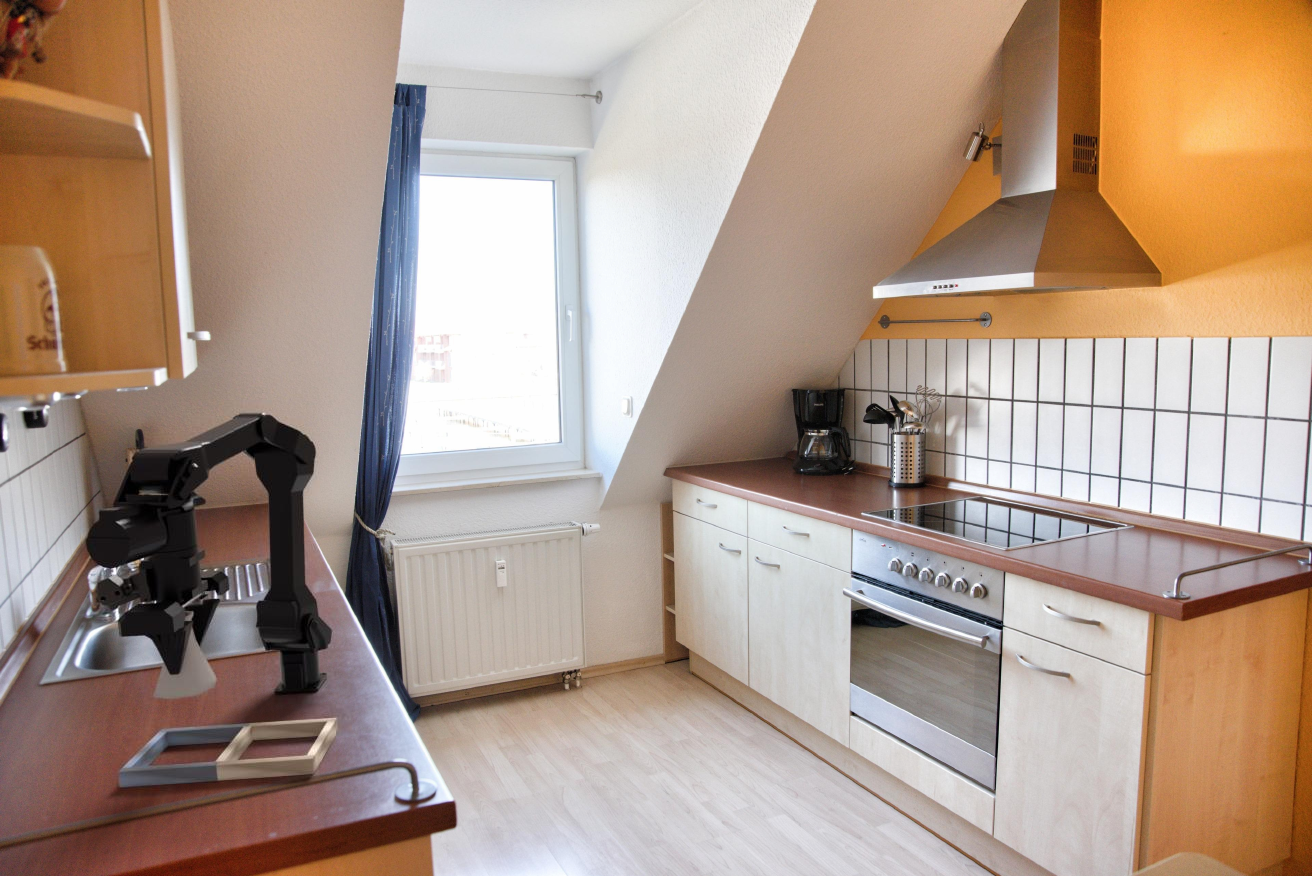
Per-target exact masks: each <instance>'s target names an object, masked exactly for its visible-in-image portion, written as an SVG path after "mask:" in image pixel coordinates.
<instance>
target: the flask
mask: <svg viewBox="0 0 1312 876" xmlns="http://www.w3.org/2000/svg"><path fill="white" fill-rule="evenodd" d="M192 616H193V611H185V621H191V619H192ZM217 680H218V678H217V677H216V674H215V672H214V670H213V668H212V667H211V665H210V664H209V662H208V660H207V658H206V657H205V654H204V653H203V650H202V649H200V647H199V645H198V643H197V641H196V638H195V635H194V632H193V628H192V629H191V633H190V636H189V641H188V645H187V649H186V653H185V657H184V661H183V664H182V668H181V671H180V673H179V674H177V675H170V674H169V672H168V670H167V668H166V666H165V664H164V662H163V661H162V665H161V669H160V674H159V676H158V679H157V683H156V687H155V689H154V693H153V698H157V699H164V700H165V699H166V700H176V699H184V698H190V697H197V696H199V695H202V694H203V693H205V692H207V691H209V690H212V689H213V688H214V687H216V684H217Z"/></svg>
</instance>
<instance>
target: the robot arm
mask: <svg viewBox="0 0 1312 876" xmlns="http://www.w3.org/2000/svg"><path fill="white" fill-rule="evenodd" d="M242 452H243V453H244V454H245V455H246V456H247V457H249V458H250V459H251V460H252V461H254V467H255V475H256V477H257V479H259V481H260V483H261V485H262V486H263V488H264V489H265V491H266V492H267V499H268V501H267V503H268V506H267V507H268V537H269V539H268V540H269V541H268V542H269V575H270V576H269V577H270V578H269V579H270V586H269V589H268V591H267V593H266V595H265V596H264V597H263V599H262V600H261V599H260V600H259V599H258V601H257V602H256V606H255V610H256V616H257V617H256V624H255V627H256V628H257V630H258V635H259V637H260V639H261V641H262V642H261V643H262V644H263V646H264V647H263V648H264V650H265V651H266V652H267V651H268V652H270V651H274V652H275V651H276V652H278V657H279V658H278V659H279V670H280V682H279V683H277V685H276V687H275V688H274V689H273V693H274V694H288V693H289V694H290V693H293V694H294V693H306V692H308V693H309V692H316V691H319V689H320V687H321V686H322V684H323V683H324V681H325V680H326V678H327V677H328V673H327V672H321V670H320V669H321V668H320V667H321V665H320V655H319V654H320V653H319V652H320V651H322V650H326V649H328V648H329V645H330V644H331V641H332V634H333V629H332V628H331V627H330V626H329V625H328V624H327V623H326V621H324V620H323V619H322V618H321V617H320V616H319V609H318V602H317V598H315V596H314V594H313V593H312V592H311V590H310V589H309V587H308V585H307V584H306V559H305V557H306V555H305V554H306V551H305V517H304V516H305V515H304V514H305V513H304V508H305V507H304V490H305V489H306V487H307V485H308V483H309V482H310V480H311V479H312V477H313V475H314V473H315V460H316V456H317V449H316V445H315V443H314V442H313V441H312V440H311V439H310V438H309V436H307V434H304V433H303V432H302V431H300V430H298V429H297V428H294V427H292V426H289V425H288V424H285V423H283V422H281V421H279V420H277V419H276V418H275V417H274V416H273V415H271V414H268V413H266V412H241V413H239V414H236V415H235V416H233V417H232V419H230V420H228V421H226V422H224V423H221V424H219V425H217V426H215V427H213V428H211V429H209V430H207V431H204V432H202V433H200V434H198V435H196V436H194V437H192V438H190V439H187V440H185V441H181V442H176V443H168V444H160V445H156V446H150V447H146V448H141V449H138V451H136V452H135V453H134V454H133V455H132V456H131V462H130V464H129V466H128V468H127V471H126V473H125V475H124V477H123V480H122V482H121V485H120V486H119V489H118V491H117V494H116V496H115V499H114V501H113V504H112V506H113V507H111V508H109V507H106V508H103V509H102V508H101V509H100V510H99V511H98V517H99V520H98V521H97V522H95V523H94V524H92V526H91V527H90V529H89V530H88V534H87V538H86V539H85V547H86V550H87V553H88V555H89V556H90V558H91V560H92V561H94V562H95V564H96V565H99V566H100V567H102V568H105V569H117V568H119V567H122V566H125V565H128V564H131V563H134V562H137V561H139V560H141V561H140V562H139V563H138V570H135V571H133V572H131V573H130V572H129V573H128V574H124V575H123V576H120V577H119V576H118V575H116V574H113V575H111V576H108V577H106V578H103V579H101V580H99V581H97V582H96V590H95V593H96V598H95V602H97V604H101V606H104V607H106V608H107V609H108V612H113V611H115V610H117V609H118V608H119V607H120V606H123V605H125V604H128V603H130V602H133V601H136V600H137V599H139V602H140V603H138V604H136V605H134V606H133V607H131V608H130V609H128V610H127V611H125V612H124V613H123V614H122V615H121V616H120V617H119V618H118V620H117V628H118V636H119V637H121V638H125V637H141V636H142V637H143V636H144V637H147V638H148V639H150V640H151V642H152V643H153V644H154V646H155V647H156V650H157V651H158V654H159V656H160V658H161V661H162V663H163V662H164V664H165V666H166V668H167V670H168V672H169V674H170V675H177V674H179V673H180V671H181V668H182V664H183V661H184V657H185V653H186V649H187V645H188V641H189V636H190V633H191V629H192V628H193V632H194V635H195V638H196V641H197V643H198V645H199V647H200V649H201V648H202V645H203V643H204V641H205V637H206V635H207V632H208V629H209V628H210V625H211V623H212V620H213V617H214V615H215V613H216V610H217V608H218V605H219V604H220V603H221V598H210V595H209V594H207V593H206V592H213V591H214V592H215V594H216V595H217V596H223V595H224V594H226V593H227V592H228V591H230V582H229V581H230V580H229V576H228V575H227V574H225V573H224V571H222V570H205V571H201V561H202V560H203V559H204V558H206V552H205V551H206V549H205V548H203V549H199V541H198V530H197V529H198V528H197V518H196V508H197V507H201V506H204V505H205V504H206V503H207V502H206V499H205V498H204V497H203V496H201V495H200V494H198V493H196V492H195V491H196V490H197V489H198V488H199V487H200V486H201V485H203V484H204V483H205V482H206V481H207V480H208V479H209V477H210V471H211V470H212V469H213V468H215V467H216V466H218V465H220V464H223V463H224V462H226V461H228V460H229V459H231V458H233V457H235V456H237V455H238V454H241V453H242ZM151 602H152V603H151ZM185 611H193V616H192V619H191V621H185ZM201 650H202V649H201Z"/></svg>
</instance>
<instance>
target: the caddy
mask: <svg viewBox="0 0 1312 876" xmlns="http://www.w3.org/2000/svg"><path fill="white" fill-rule="evenodd" d="M338 728H339V726H338V717H328V718H325V717H324V718H312V719H296V720H280V721H265V722H263V721H262V722H249V723H247V722H246V723H234V724H219V725H204V726H203V725H202V726H189V727H173V728H172V727H171V728H161V729H160V730H159V732H157V734H155V736H153V738H151V739H150V740H149V741H148V742H147V743H146V744H145V745H144V746H143V747H142V748H141V749H140V750H139V751H138V752H136V754H135V755H134V756H133V757H131V758H130V760H129V761H127V763H125V765H124V766H123V767H121V769H119V770H118V772H117V775H118V785H119V788H131V787H143V786H144V787H145V786H147V787H148V786H158V785H159V786H160V785H161V786H162V785H173V784H174V785H175V784H187V783H188V784H191V783H204V782H216V781H229V780H230V781H231V780H246V779H261V778H275V777H288V776H304V775H314V774H315V773H316V770H317V769H318V768H319V765H320V764H321V762H322V760H323V759H324V756H325V755H326V754H327V751H328V750H329V748H330V747H331V745H332V743H333V741H334V740H335V738H336V736H337V734H338V732H339V729H338ZM306 737H307V738H308V737H317V738H316V740H314V743H313V745H312V746H311V747H310V749H309V750H308V752H307V754H306V755H296V756H295V755H294V756H280V757H278V756H277V757H266V758H265V757H264V758H251V759H249V758H248V759H240V758H241V756H242V755H243V753H244V752H245V751H246V750H247V748H249V746H250V745H251V743H252V742H253V741H259V740H260V741H263V740H275V739H276V740H278V739H291V738H294V739H295V738H306ZM215 743H216V744H218V743H229V744H228V745H227V747H226V748H225V750H224V751H223V752H222V753H221V754H220V755H219V757H218V758H217V759H216V760H215V761H206V762H193V763H175V764H161V765H160V764H159V765H151V764H152V763H153V762H154V761H155V760H156V759H157V758H159V756H160V755H161V754H162V753H163V752H164V750H166V748H167V747H170V746H171V747H173V746H184V745H185V746H186V745H201V744H202V745H203V744H215Z"/></svg>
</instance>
